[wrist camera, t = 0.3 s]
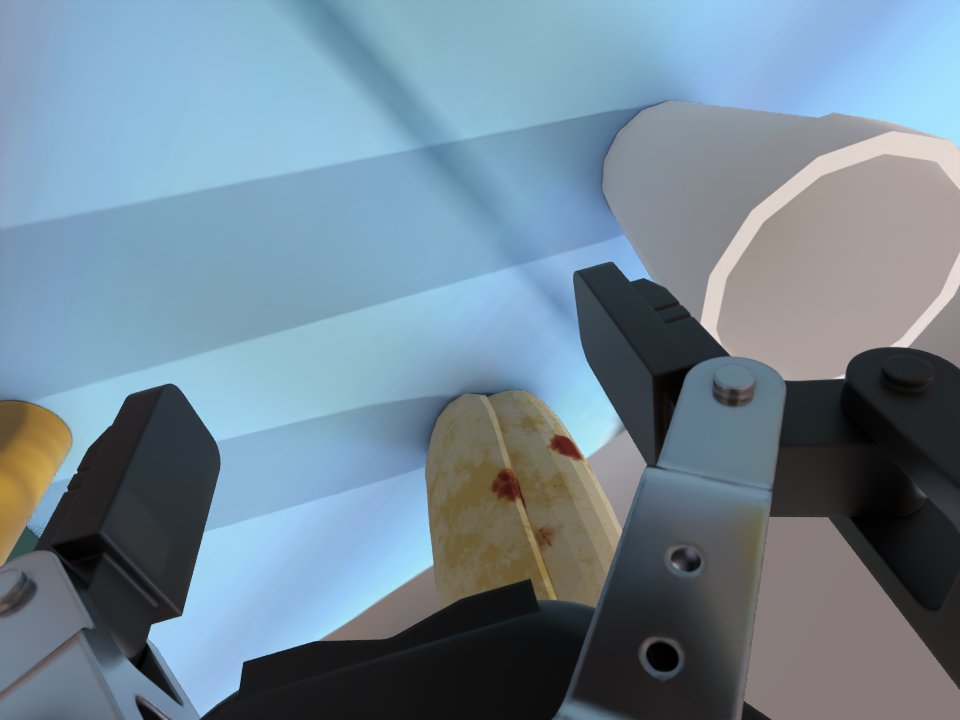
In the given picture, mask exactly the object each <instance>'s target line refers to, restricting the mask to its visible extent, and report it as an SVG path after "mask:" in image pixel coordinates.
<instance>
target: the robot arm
mask: <svg viewBox="0 0 960 720" xmlns="http://www.w3.org/2000/svg"><path fill="white" fill-rule="evenodd" d="M573 283H574V291H575V299H576V307H577V315H578V322H579V330H580V338H581V343H582V347H583V350H584V353H585V356H586V359H587V361H588V364H589V366H590V367H591V369H592V371H593V373H594V374H595V376H596V378H597V379H598V381H599V383H600V385H601V386H602V388H603V390H604V391H605V393H606V395H607V397H608V398H609V400H610V402H611V403H612V405H613V407H614V409H615V410H616V412H617V414H618V415H619V417H620V419H621V421H622V422H623V424H624V426H625V427H626V429H627V431H628V433H629V434H630V436H631V438H632V439H633V441H634V443H635V444H636V446H637V448H638V450H639V451H640V453H641V455H642V456H643V458H644V460H645V461H646V463H647V466H646V468H645V469H644V471H643V474H642V476H641V479H640V482H639V485H638V487H637V490H636V493H635V496H634V499H633V502H632V505H631V508H630V511H629V513H628V517H627V519H626V522H625V525H624V528H623V531H622V534H621V537H620V540H619V543H618V545H617V548H616V551H615V554H614V557H613V560H612V563H611V566H610V569H609V572H608V575H607V577H606V580H605V583H604V586H603V589H602V592H601V595H600V598H599V601H598V604H597V607H596V608H594V607H591V606H589V605H584V604H580V603H575V602H571V601H561V600H537V599H536V595H535V592H534V588H533V585H532V581H531V578H530V579H527V580H523V581H520V582H517V583H513V584H510V585H506V586H503V587H499V588H496V589H493V590H489V591H486V592H482V593H479V594H475V595H472V596H468V597H465V598H462V599H459V600H458V601H456V602H454V603H452V604H451V605H449V606H447V607H445V608H444V609H442V610H440V611H438V612H436V613H435V614H433V615H431V616H429V617H428V618H426V619H424V620H423V621H421V622H419V623H417V624H415V625H413V626H412V627H410V628H408V629H407V630H405V631H403V632H401V633H399V634H397V635H396V636H393V637H391V638H388V639H381V640H346V641H314V642H311V643H307V644H304V645H300V646H297V647H294V648H290V649H287V650H283V651H280V652H276V653H273V654H270V655H266V656H263V657H259V658H256V659H252V660H249V661H246V662H243V668H242V675H241V681H240V688H239V690H238V691H236V692H234V693H233V694H231V695H230V696H229V697H227V698H226V699H224V700H223V701H221V702H220V703H219V704H217V705H216V706H215V707H213V708H212V709H211V710H210V711H209V712H208V713H206V714H205V715H204V716H203V717H202V718H201V717H200V716H199V714H198V713H197V711H196V710H195V708H194V706H193V705H192V703H191V701H190V700H189V698H188V697H187V695H186V693H185V692H184V690H183V689H182V687H181V685H180V684H179V682H178V681H177V679H176V677H175V676H174V674H173V673H172V671H171V669H170V668H169V666H168V665H167V663H166V661H165V660H164V658H163V657H162V655H161V653H160V652H159V650H158V649H157V647H156V646H155V645H154V644H153V643H152V642H151V641H150V640H149V639H148V638H147V637H148V634H149V631H150V627H151V624H155V623H158V622H162V621H165V620H169V619H172V618H176V617H179V616H182V613H183V609H184V605H185V601H186V598H187V594H188V590H189V586H190V582H191V578H192V575H193V571H194V567H195V563H196V559H197V555H198V552H199V548H200V544H201V540H202V536H203V532H204V529H205V525H206V521H207V517H208V513H209V509H210V505H211V502H212V498H213V494H214V490H215V486H216V482H217V479H218V475H219V471H220V454H219V450H218V447H217V444H216V442H215V440H214V438H213V437H212V435H211V434H210V432H209V431H208V429H207V428H206V426H205V425H204V423H203V422H202V421H201V419H200V418H199V416H198V415H197V413H196V412H195V410H194V409H193V407H192V406H191V404H190V403H189V401H188V400H187V398H186V397H185V396H184V394H183V393H182V391H181V390H180V389H179V388H178V387H177V386H175V385H174V384H165V385H162V386H158V387H154V388H151V389H147V390H144V391H140V392H136V393H133V394H130V395H129V396H127V398H126V399H125V401H124V403H123V405H122V407H121V409H120V411H119V413H118V415H117V417H116V419H115V420H114V422H113V424H112V426H109V427H108V428H107V429H106V430H105V432H104V433H103V434H102V435H101V436H100V437H99V438H98V439H97V440H96V441H95V442H94V443H93V444H92V445H91V446H90V447H89V448H88V450H87V452H86V454H85V456H84V457H83V459H82V461H81V463H80V465H79V467H78V468H77V471H78V473H77V474H74V476H73V478H72V480H71V481H70V483H69V485H68V487H67V489H68V492H65V493H64V494H63V496H62V498H61V500H60V502H59V504H58V505H57V507H56V509H55V511H54V513H53V515H52V517H51V518H50V520H49V522H48V524H47V526H46V528H45V530H44V531H43V533H42V535H41V537H40V539H39V541H38V542H37V544H36V546H35V548H34V550H33V552H30V553H27V554H24V555H21V556H19V557H17V558H14V559H13V560H11V561H9V562H7V563H5V564H4V565H2V566H1V567H0V720H771V719H770V718H768V717H767V716H765V715H764V714H762V713H761V712H759V711H758V710H756V709H755V708H753V707H752V706H750V705H749V704H747V703H746V702H745V701H744V695H745V689H746V682H747V674H748V667H749V659H750V653H751V644H752V638H753V631H754V623H755V617H756V609H757V602H758V595H759V588H760V580H761V573H762V565H763V559H764V551H765V544H766V537H767V530H768V523H769V517H828V518H829V519H830V520H831V521H832V523H833V524H834V525H835V527H836V528H837V529H838V530H839V532H840V533H841V535H842V536H843V537H844V539H845V540H846V541H847V542H848V544H849V545H850V546H851V547H852V549H853V550H854V552H855V553H856V554H857V556H858V557H859V558H860V559H861V561H862V562H863V563H864V565H865V566H866V567H867V569H868V570H869V571H870V573H871V574H872V575H873V576H874V578H875V579H876V580H877V582H878V583H879V584H880V586H881V587H882V588H883V590H884V591H885V592H886V594H887V595H888V596H889V598H890V599H891V600H892V601H893V603H894V604H895V605H896V607H897V608H898V609H899V611H900V612H901V613H902V615H903V616H904V617H905V619H906V620H907V621H908V622H909V624H910V625H911V626H912V628H913V629H914V630H915V632H916V633H917V634H918V636H919V637H920V638H921V639H922V641H923V642H924V643H925V645H926V646H927V647H928V649H929V650H930V651H931V653H932V654H933V655H934V657H935V658H936V659H937V660H938V662H939V663H940V664H941V666H942V667H943V668H944V670H945V671H946V672H947V674H948V675H949V676H950V678H951V679H952V680H953V681H954V683H955V684H956V685H957V687H958V688H959V689H960V369H959V368H958V367H956V366H955V365H953V364H952V363H950V362H949V361H947V360H945V359H943V358H941V357H939V356H937V355H934V354H931V353H928V352H925V351H921V350H916V349H911V348H903V347H881V348H875V349H870V350H867V351H864V352H862V353H860V354H858V355H856V356H855V357H853V358H852V359H851V361H850V362H849V363H848V366H847V369H846V373H845V378H844V379H825V380H805V381H789V380H783V378H782V376H781V375H780V374H779V373H778V372H777V371H776V370H774V369H773V368H772V367H770V366H768V365H766V364H764V363H762V362H759V361H757V360H753V359H749V358H744V357H733V356H730V354H729V353H728V352H727V351H726V350H725V349H724V348H723V347H722V346H721V345H720V344H719V343H718V342H717V341H716V340H715V339H714V338H713V337H712V336H711V335H710V334H709V332H708V331H707V330H706V329H705V328H704V327H703V326H702V325H701V324H700V323H699V322H698V321H697V320H696V319H695V318H694V317H691V314H690V313H689V312H688V310H687V309H686V308H685V307H684V306H683V305H680V303H679V301H678V300H677V299H676V298H675V297H674V296H673V295H672V294H671V293H670V292H669V291H668V290H667V288H665V287H663V286H661V285H658V284H656V283H654V282H651V281H649V280H647V279H644V278H643V279H639V280H635V281H632V282H630V281H629V280H628V279H627V278H626V277H625V276H624V274H623V273H622V272H621V271H620V270H619V269H618V267H617V266H616V265H615V264H614V263H613V262H607V263H603V264H600V265H596V266H593V267H589V268H585V269H582V270H578V271H575V272H574V275H573Z"/></svg>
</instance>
